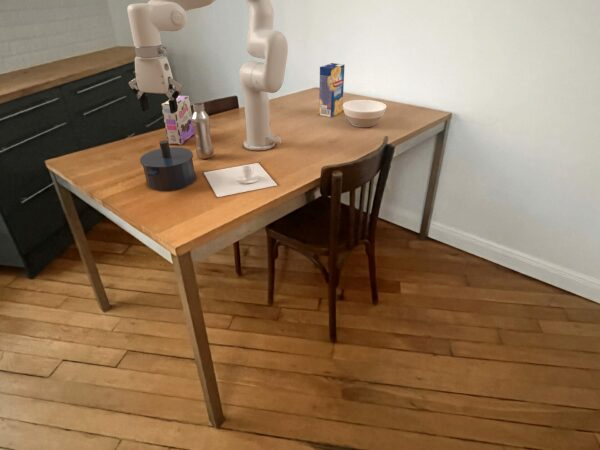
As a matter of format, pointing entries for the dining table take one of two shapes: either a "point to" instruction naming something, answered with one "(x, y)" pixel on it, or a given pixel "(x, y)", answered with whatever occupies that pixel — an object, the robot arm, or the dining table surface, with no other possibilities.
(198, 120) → the metal water bottle
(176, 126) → the candy box
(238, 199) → the dining table surface
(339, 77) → the blue cardboard box
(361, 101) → the bowl
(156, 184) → the dark blue cooking pot
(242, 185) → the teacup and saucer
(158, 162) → the lid
